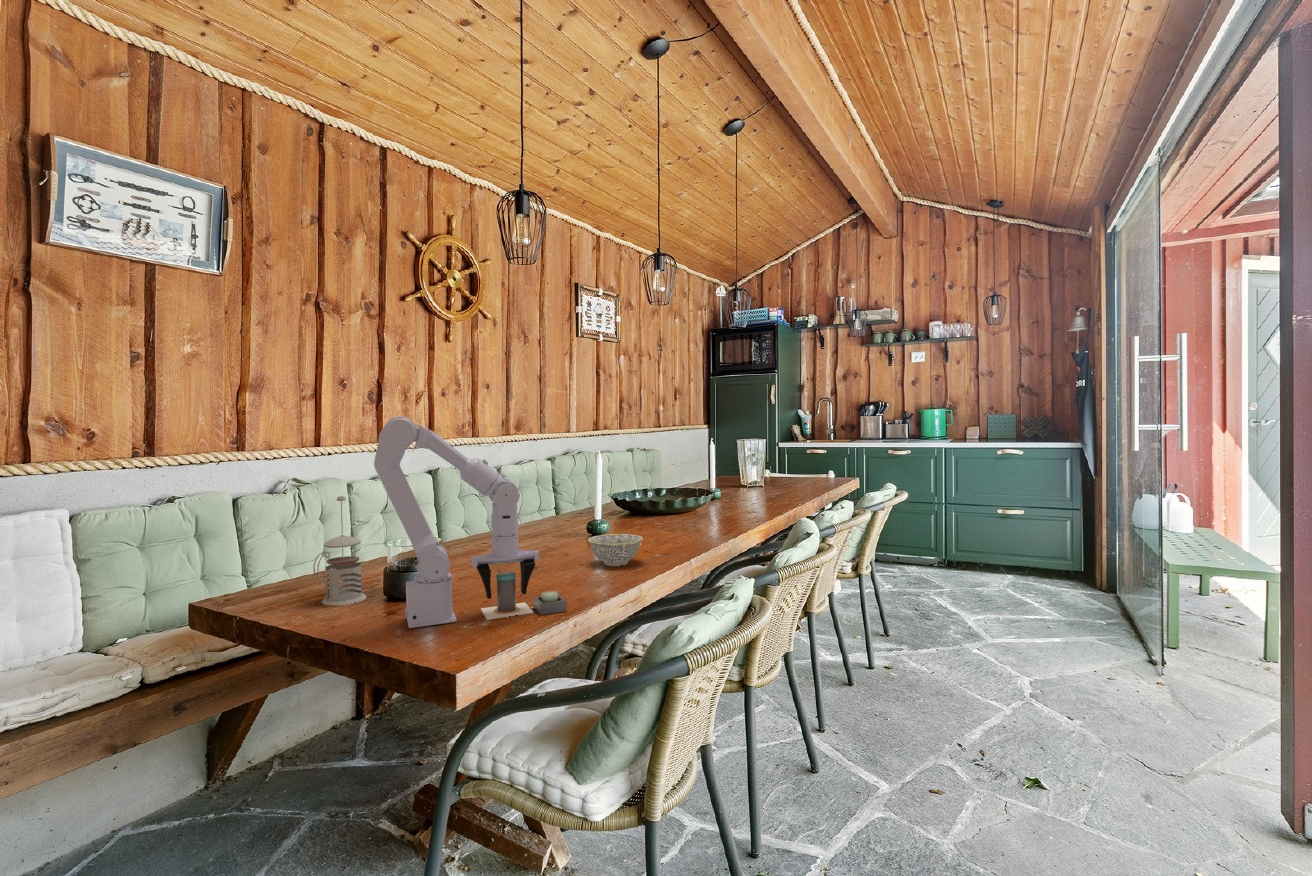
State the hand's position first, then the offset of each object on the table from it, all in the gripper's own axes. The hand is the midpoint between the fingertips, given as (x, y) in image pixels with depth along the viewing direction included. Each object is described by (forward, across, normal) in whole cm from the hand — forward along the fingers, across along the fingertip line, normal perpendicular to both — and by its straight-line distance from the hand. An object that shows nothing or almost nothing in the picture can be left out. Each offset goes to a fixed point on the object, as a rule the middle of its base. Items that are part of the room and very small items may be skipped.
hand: (506, 595), depth 142 cm
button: (+2, -9, +3) cm, 10 cm away
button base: (+4, -9, +3) cm, 10 cm away
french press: (+4, +34, -27) cm, 44 cm away
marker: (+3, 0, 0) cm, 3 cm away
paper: (+4, 0, 0) cm, 4 cm away
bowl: (+4, -38, -32) cm, 50 cm away
